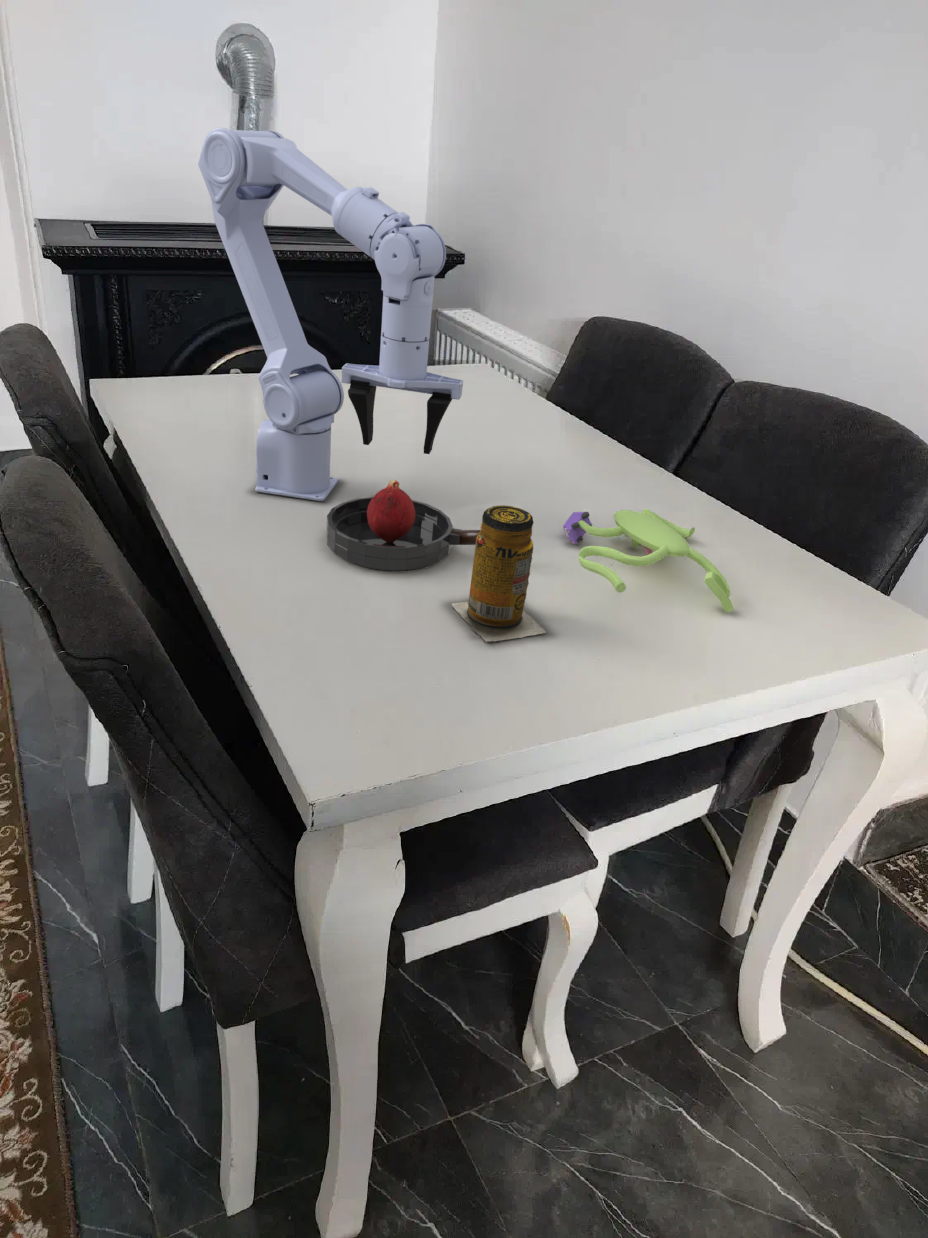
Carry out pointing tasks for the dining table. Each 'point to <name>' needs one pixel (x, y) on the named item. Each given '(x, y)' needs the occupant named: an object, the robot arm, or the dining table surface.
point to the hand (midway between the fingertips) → (397, 446)
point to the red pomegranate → (391, 513)
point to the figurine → (651, 536)
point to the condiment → (501, 576)
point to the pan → (369, 551)
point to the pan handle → (463, 537)
